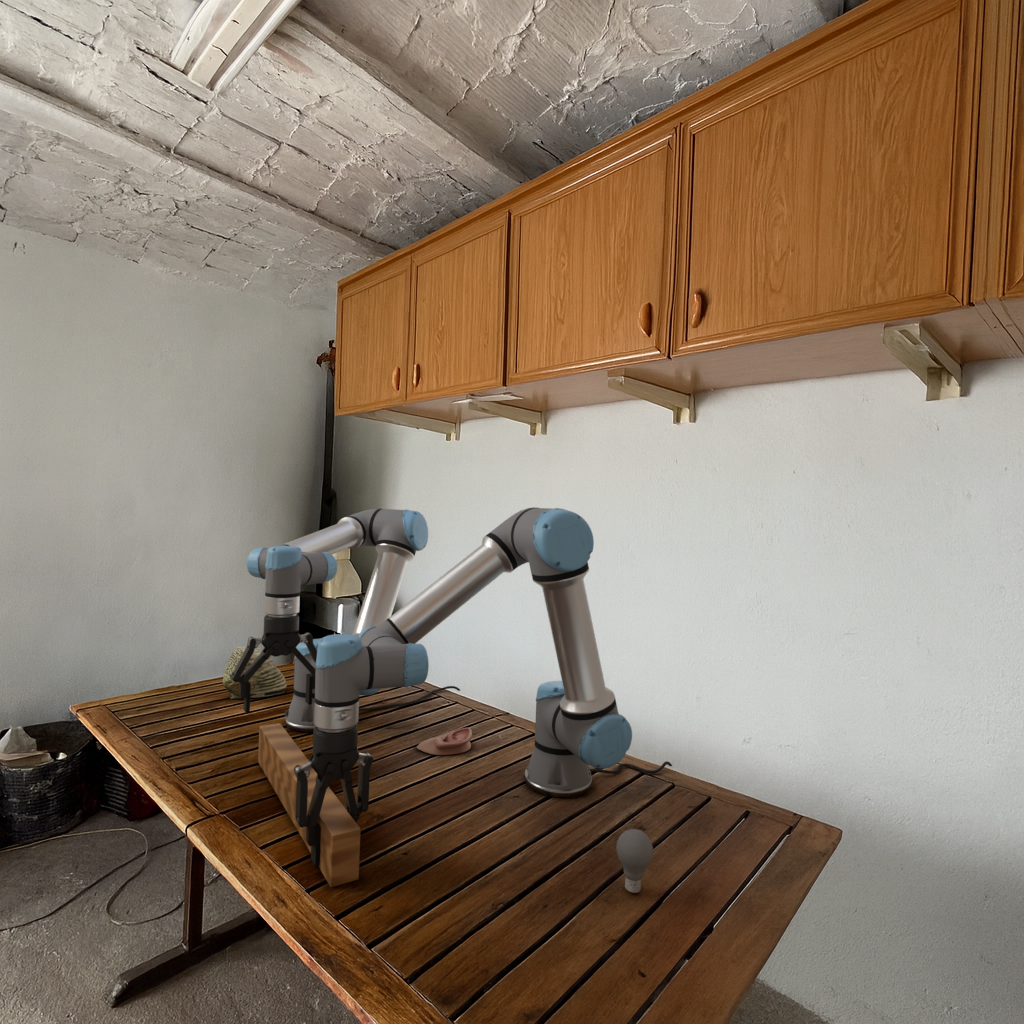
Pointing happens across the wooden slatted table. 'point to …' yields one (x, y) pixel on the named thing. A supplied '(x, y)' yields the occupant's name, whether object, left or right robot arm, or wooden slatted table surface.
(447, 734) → the anatomical model
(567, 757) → the right robot arm
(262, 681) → the fossil
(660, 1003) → the wooden slatted table surface
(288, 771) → the post
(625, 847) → the light bulb
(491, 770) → the wooden slatted table surface
